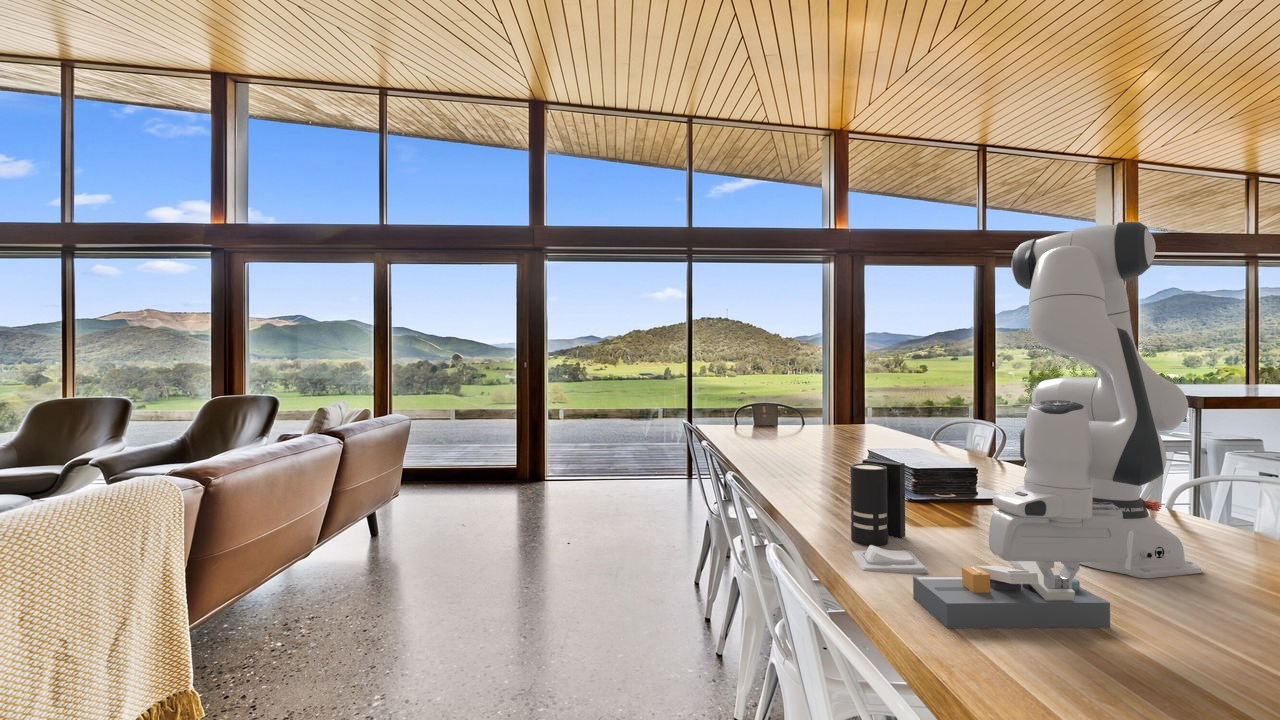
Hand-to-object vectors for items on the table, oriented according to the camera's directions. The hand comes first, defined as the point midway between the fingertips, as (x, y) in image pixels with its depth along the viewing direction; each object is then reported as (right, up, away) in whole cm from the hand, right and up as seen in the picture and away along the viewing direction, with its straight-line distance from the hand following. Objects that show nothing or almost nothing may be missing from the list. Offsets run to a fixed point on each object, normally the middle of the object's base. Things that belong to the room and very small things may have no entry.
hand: (1057, 587), depth 88 cm
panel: (-5, -6, +5) cm, 9 cm away
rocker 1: (-5, -1, +5) cm, 7 cm away
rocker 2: (0, -1, +5) cm, 5 cm away
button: (+6, -2, +5) cm, 8 cm away
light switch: (-15, -7, +28) cm, 33 cm away
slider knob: (-10, -2, +5) cm, 11 cm away
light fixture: (-11, -7, +44) cm, 46 cm away
